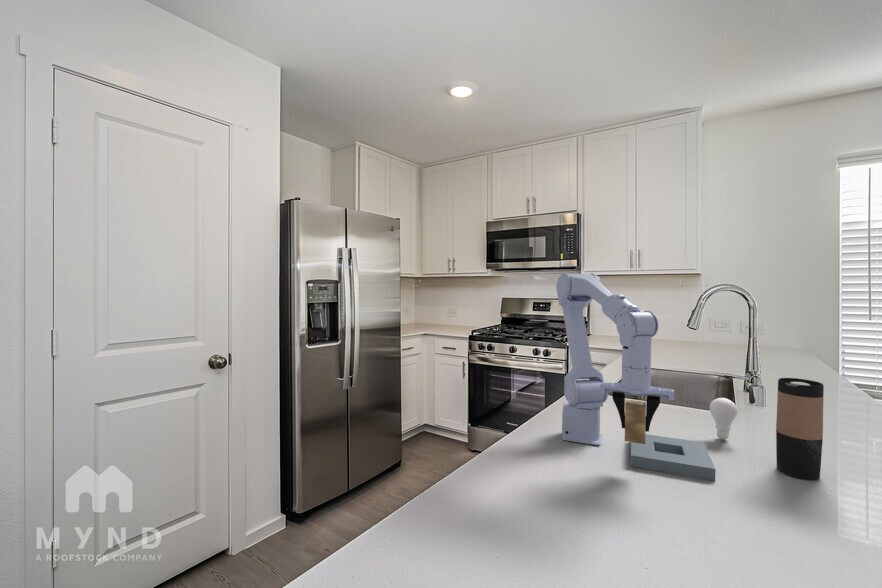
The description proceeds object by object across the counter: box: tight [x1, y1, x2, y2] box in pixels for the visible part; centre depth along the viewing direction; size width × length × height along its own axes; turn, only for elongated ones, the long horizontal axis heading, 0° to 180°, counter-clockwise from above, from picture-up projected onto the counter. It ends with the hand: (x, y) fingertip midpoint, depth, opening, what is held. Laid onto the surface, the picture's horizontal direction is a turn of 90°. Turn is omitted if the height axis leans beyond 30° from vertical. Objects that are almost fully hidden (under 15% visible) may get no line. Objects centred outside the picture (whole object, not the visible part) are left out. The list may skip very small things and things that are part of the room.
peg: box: [624, 399, 646, 444], centre depth 90 cm, size 4×4×8 cm
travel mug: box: [775, 377, 825, 481], centre depth 90 cm, size 8×8×20 cm
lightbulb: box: [709, 397, 739, 441], centre depth 109 cm, size 6×6×11 cm
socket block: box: [630, 433, 717, 482], centre depth 97 cm, size 16×16×2 cm
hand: (635, 428), depth 90 cm, fingers closed on peg, 4 cm apart
